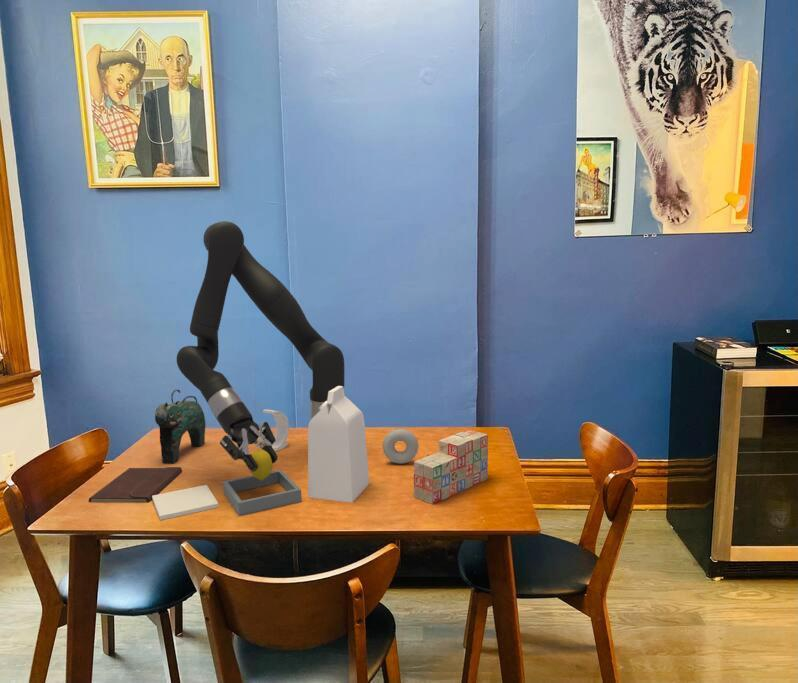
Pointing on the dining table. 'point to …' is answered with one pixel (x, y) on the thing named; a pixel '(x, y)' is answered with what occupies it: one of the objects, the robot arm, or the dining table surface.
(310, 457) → the milk
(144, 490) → the notebook
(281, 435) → the headphone stand
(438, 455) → the stack of blocks
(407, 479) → the dining table surface
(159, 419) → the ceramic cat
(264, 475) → the lemon
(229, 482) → the grey square frame
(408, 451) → the donut
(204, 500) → the board
